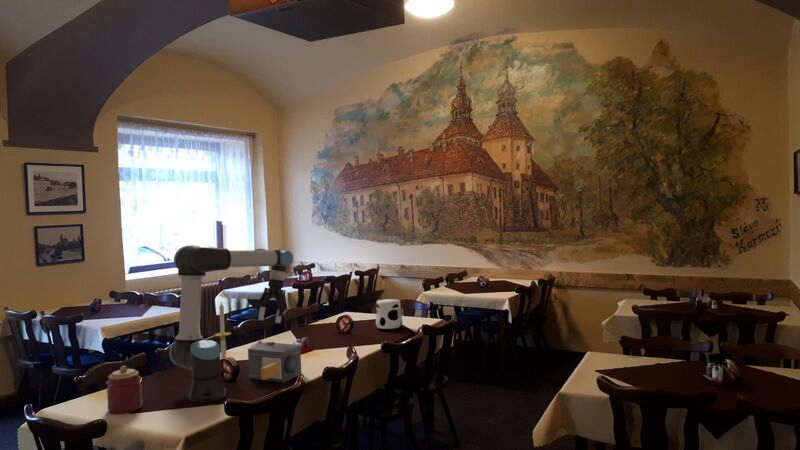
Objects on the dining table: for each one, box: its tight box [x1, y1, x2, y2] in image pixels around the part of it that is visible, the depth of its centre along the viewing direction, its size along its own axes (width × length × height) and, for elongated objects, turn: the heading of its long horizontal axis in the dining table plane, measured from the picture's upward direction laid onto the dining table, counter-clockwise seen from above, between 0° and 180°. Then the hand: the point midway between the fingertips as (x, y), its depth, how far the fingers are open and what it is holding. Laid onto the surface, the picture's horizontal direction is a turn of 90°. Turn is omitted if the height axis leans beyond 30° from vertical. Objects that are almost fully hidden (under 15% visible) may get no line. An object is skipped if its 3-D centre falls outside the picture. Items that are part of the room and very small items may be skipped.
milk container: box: [375, 298, 403, 331], centre depth 369 cm, size 17×17×18 cm
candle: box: [213, 301, 232, 360], centre depth 299 cm, size 10×10×32 cm
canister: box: [105, 365, 144, 415], centre depth 234 cm, size 13×13×18 cm
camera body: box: [247, 341, 302, 383], centre depth 272 cm, size 15×22×15 cm
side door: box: [261, 357, 282, 381], centre depth 258 cm, size 12×10×9 cm
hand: (269, 321), depth 288 cm, fingers open, 13 cm apart
